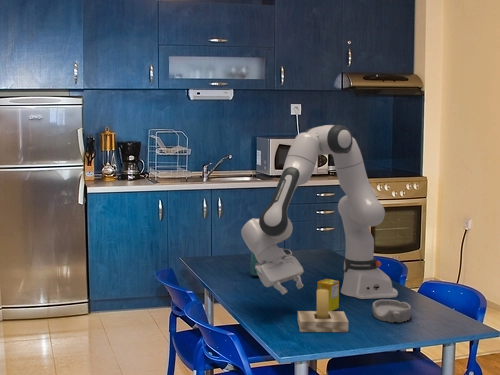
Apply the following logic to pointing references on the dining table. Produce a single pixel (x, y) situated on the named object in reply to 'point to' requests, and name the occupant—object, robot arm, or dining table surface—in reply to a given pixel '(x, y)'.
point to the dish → (391, 310)
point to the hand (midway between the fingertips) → (293, 290)
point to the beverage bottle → (253, 264)
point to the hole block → (322, 322)
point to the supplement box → (331, 292)
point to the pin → (322, 303)
